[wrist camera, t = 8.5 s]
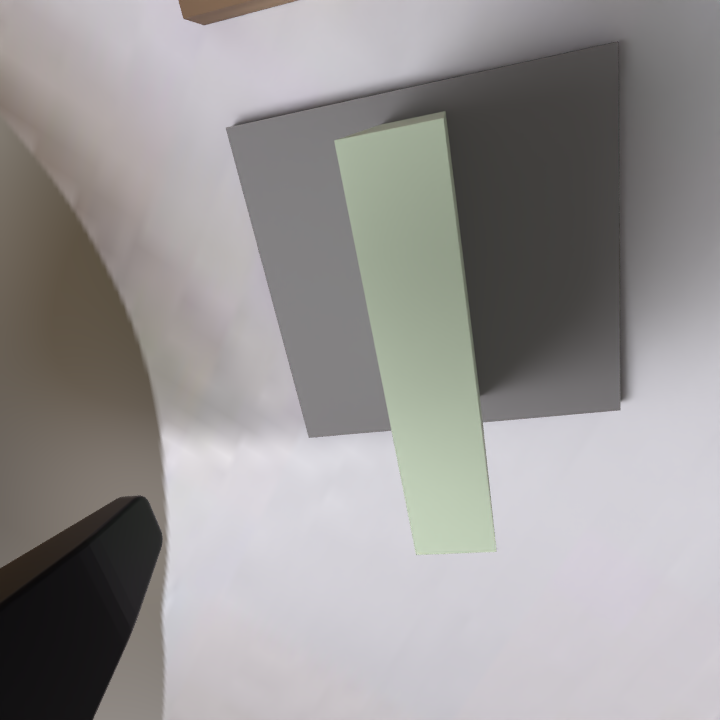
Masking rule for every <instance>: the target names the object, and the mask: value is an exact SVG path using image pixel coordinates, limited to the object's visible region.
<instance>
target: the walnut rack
mask: <svg viewBox="0 0 720 720" xmlns="http://www.w3.org/2000/svg"><path fill="white" fill-rule="evenodd" d="M294 1H297V0H179V4H180V8H181V11H182V15H183V18H184V19H186V20H189V21H192V22H196V23H199V24H202V25H207V24H211V23H214V22H218V21H222V20H226V19H229V18H233V17H237V16H241V15H244V14H248V13H252V12H256V11H260V10H263V9H267V8H271V7H275V6H278V5H282V4H286V3H290V2H294Z"/></svg>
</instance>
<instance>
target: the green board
mask: <svg viewBox="0 0 720 720" xmlns="http://www.w3.org/2000/svg"><path fill="white" fill-rule="evenodd" d="M334 143H335V148H336V153H337V158H338V163H339V168H340V173H341V178H342V183H343V188H344V193H345V198H346V203H347V208H348V213H349V218H350V223H351V228H352V233H353V239H354V244H355V249H356V254H357V259H358V264H359V269H360V274H361V279H362V284H363V289H364V294H365V299H366V304H367V309H368V314H369V319H370V324H371V329H372V334H373V339H374V345H375V350H376V355H377V360H378V365H379V370H380V375H381V380H382V385H383V390H384V395H385V400H386V405H387V410H388V415H389V420H390V425H391V430H392V435H393V440H394V445H395V451H396V456H397V461H398V466H399V471H400V476H401V481H402V486H403V491H404V496H405V501H406V506H407V511H408V516H409V521H410V526H411V531H412V536H413V541H414V546H415V552H416V555H428V554H453V553H478V552H496V543H495V533H494V524H493V514H492V505H491V496H490V486H489V477H488V468H487V458H486V449H485V439H484V430H483V421H482V411H481V402H480V393H479V385H478V376H477V368H476V360H475V352H474V343H473V335H472V327H471V318H470V310H469V302H468V293H467V285H466V277H465V269H464V260H463V252H462V244H461V235H460V227H459V219H458V210H457V202H456V194H455V186H454V177H453V169H452V161H451V152H450V144H449V136H448V128H447V119H446V111H443V112H438V113H433V114H428V115H424V116H419V117H414V118H409V119H404V120H400V121H395V122H390V123H385V124H381V125H378V126H375V127H372V128H369V129H366V130H363V131H360V132H358V133H355V134H352V135H349V136H346V137H343V138H340V139H337V140H334Z"/></svg>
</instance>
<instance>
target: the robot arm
mask: <svg viewBox="0 0 720 720" xmlns="http://www.w3.org/2000/svg"><path fill="white" fill-rule="evenodd" d="M161 547H162V532H161V530H160V527H159V525H158V522H157V520H156V518H155V515H154V513H153V511H152V508H151V506H150V503H149V502H148V500H147V499H146V498H145V497H143V496H139V495H138V496H125V497H120V498H118V499H116V500H114V501H112V502H111V503H109V504H107V505H106V506H104V507H102V508H101V509H99V510H97V511H96V512H94V513H92V514H91V515H89V516H87V517H85V518H84V519H82V520H81V521H79V522H77V523H76V524H74V525H72V526H70V527H69V528H67V529H65V530H64V531H62V532H60V533H59V534H57V535H55V536H54V537H52V538H50V539H49V540H47V541H45V542H44V543H42V544H40V545H39V546H37V547H35V548H33V549H32V550H30V551H29V552H27V553H25V554H23V555H22V556H20V557H18V558H17V559H15V560H13V561H12V562H10V563H8V564H7V565H5V566H3V567H2V568H0V720H93V718H94V716H95V714H96V712H97V710H98V707H99V705H100V703H101V701H102V698H103V696H104V694H105V692H106V690H107V687H108V685H109V683H110V680H111V678H112V676H113V674H114V672H115V670H116V667H117V665H118V663H119V661H120V658H121V656H122V654H123V651H124V650H125V647H126V645H127V643H128V640H129V638H130V636H131V633H132V631H133V628H134V625H135V623H136V620H137V617H138V614H139V611H140V609H141V606H142V603H143V600H144V597H145V594H146V591H147V588H148V585H149V582H150V579H151V577H152V573H153V571H154V568H155V565H156V562H157V559H158V556H159V553H160V550H161Z"/></svg>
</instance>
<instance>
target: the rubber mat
mask: <svg viewBox="0 0 720 720" xmlns="http://www.w3.org/2000/svg"><path fill="white" fill-rule="evenodd" d="M443 111H446V119H447V128H448V136H449V144H450V152H451V161H452V169H453V177H454V186H455V194H456V202H457V210H458V219H459V227H460V235H461V244H462V252H463V260H464V269H465V277H466V285H467V293H468V302H469V310H470V318H471V327H472V335H473V343H474V352H475V360H476V368H477V376H478V385H479V393H480V402H481V411H482V421H483V422H493V421H504V420H515V419H526V418H538V417H549V416H560V415H572V414H583V413H594V412H605V411H617V410H620V244H619V59H618V42H613V43H609V44H604V45H600V46H595V47H591V48H586V49H581V50H577V51H572V52H568V53H563V54H559V55H554V56H550V57H545V58H541V59H536V60H532V61H527V62H522V63H518V64H513V65H509V66H504V67H500V68H495V69H491V70H486V71H482V72H477V73H472V74H468V75H463V76H459V77H454V78H450V79H445V80H441V81H436V82H432V83H427V84H422V85H418V86H413V87H409V88H404V89H400V90H395V91H391V92H386V93H382V94H377V95H372V96H368V97H363V98H359V99H354V100H350V101H345V102H341V103H336V104H332V105H327V106H322V107H318V108H313V109H309V110H304V111H300V112H295V113H291V114H286V115H282V116H277V117H272V118H268V119H263V120H259V121H254V122H250V123H245V124H241V125H236V126H232V127H227V128H226V130H227V134H228V138H229V142H230V145H231V149H232V153H233V157H234V160H235V164H236V168H237V171H238V175H239V179H240V183H241V186H242V190H243V194H244V198H245V201H246V205H247V209H248V212H249V216H250V220H251V224H252V227H253V231H254V235H255V238H256V242H257V246H258V250H259V253H260V257H261V261H262V265H263V268H264V272H265V276H266V279H267V283H268V287H269V291H270V294H271V298H272V302H273V306H274V309H275V313H276V317H277V320H278V324H279V328H280V332H281V335H282V339H283V343H284V347H285V350H286V354H287V358H288V361H289V365H290V369H291V373H292V376H293V380H294V384H295V388H296V391H297V395H298V399H299V402H300V406H301V410H302V414H303V417H304V421H305V425H306V429H307V432H308V436H309V438H312V437H323V436H335V435H346V434H357V433H369V432H380V431H391V425H390V420H389V415H388V410H387V405H386V400H385V395H384V390H383V385H382V380H381V375H380V370H379V365H378V360H377V355H376V350H375V345H374V339H373V334H372V329H371V324H370V319H369V314H368V309H367V304H366V299H365V294H364V289H363V284H362V279H361V274H360V269H359V264H358V259H357V254H356V249H355V244H354V239H353V233H352V228H351V223H350V218H349V213H348V208H347V203H346V198H345V193H344V188H343V183H342V178H341V173H340V168H339V163H338V158H337V153H336V148H335V143H334V140H337V139H340V138H343V137H346V136H349V135H352V134H355V133H358V132H360V131H363V130H366V129H369V128H372V127H375V126H378V125H381V124H385V123H390V122H395V121H400V120H404V119H409V118H414V117H419V116H424V115H428V114H433V113H438V112H443Z"/></svg>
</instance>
